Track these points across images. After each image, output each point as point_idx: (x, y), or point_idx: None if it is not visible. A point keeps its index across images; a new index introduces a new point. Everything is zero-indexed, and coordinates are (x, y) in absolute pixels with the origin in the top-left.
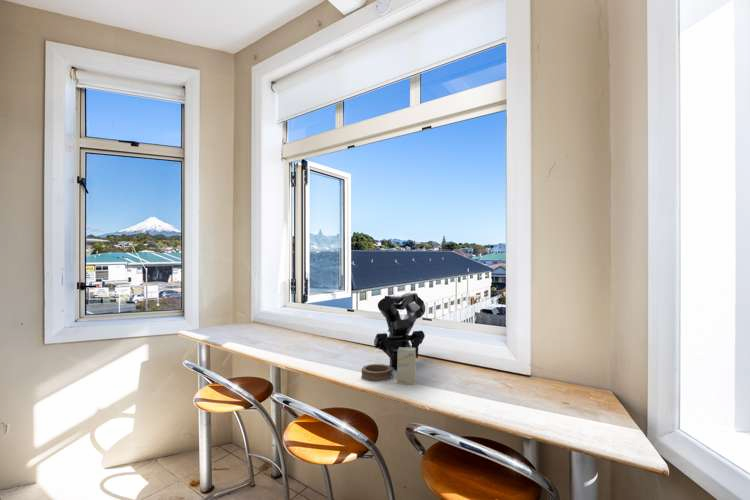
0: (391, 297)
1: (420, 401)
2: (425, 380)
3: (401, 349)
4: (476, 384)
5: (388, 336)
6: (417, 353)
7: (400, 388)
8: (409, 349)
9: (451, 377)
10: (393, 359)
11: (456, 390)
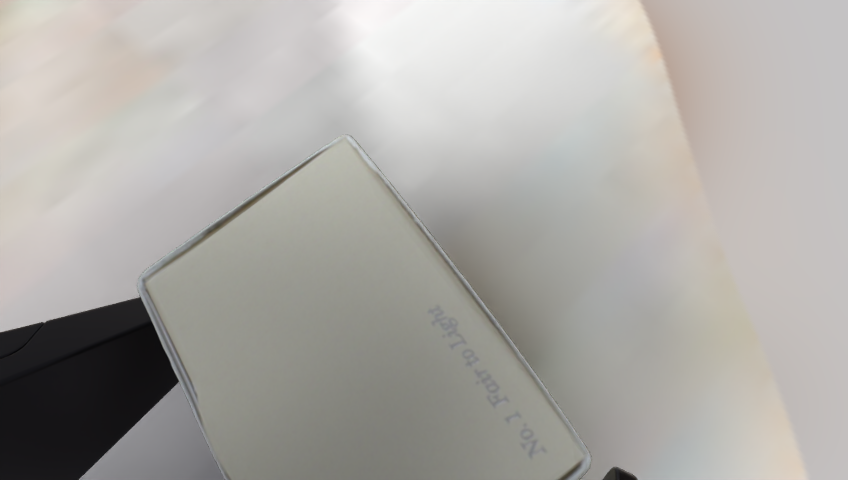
0: None
1: (641, 19)
2: None
3: (507, 381)
4: (135, 23)
5: None
6: None
7: (583, 286)
8: (355, 249)
9: (100, 206)
10: (625, 471)
11: (309, 23)
